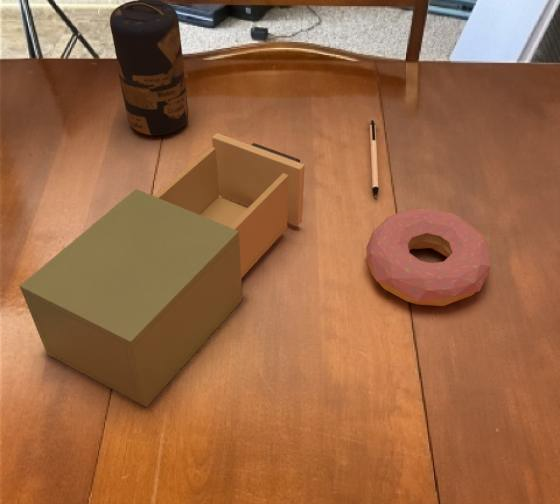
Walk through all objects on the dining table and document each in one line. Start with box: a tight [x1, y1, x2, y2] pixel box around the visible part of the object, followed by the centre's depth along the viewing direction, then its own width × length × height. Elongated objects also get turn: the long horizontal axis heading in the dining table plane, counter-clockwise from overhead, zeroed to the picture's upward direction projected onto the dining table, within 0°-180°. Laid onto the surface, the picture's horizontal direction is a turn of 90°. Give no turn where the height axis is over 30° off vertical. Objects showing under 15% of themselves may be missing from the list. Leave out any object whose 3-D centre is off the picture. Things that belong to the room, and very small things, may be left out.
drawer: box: [153, 132, 306, 279], centre depth 86 cm, size 22×13×9 cm, turn 149°
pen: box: [369, 119, 380, 198], centre depth 101 cm, size 1×19×1 cm, turn 177°
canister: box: [109, 0, 189, 136], centre depth 99 cm, size 10×10×18 cm
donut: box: [365, 208, 491, 307], centre depth 84 cm, size 16×15×5 cm
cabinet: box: [19, 188, 243, 408], centre depth 76 cm, size 19×14×11 cm
